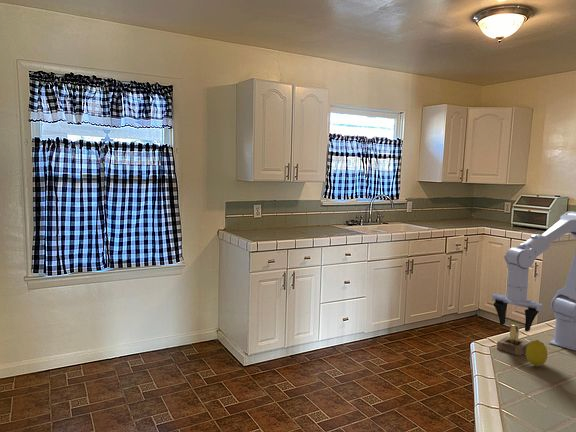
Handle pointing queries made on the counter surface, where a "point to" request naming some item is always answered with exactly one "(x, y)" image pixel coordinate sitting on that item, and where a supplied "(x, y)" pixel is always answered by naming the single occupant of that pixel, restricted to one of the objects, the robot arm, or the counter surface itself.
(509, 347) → the socket block
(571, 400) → the counter surface
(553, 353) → the counter surface
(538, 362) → the lemon
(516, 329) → the brass pin
